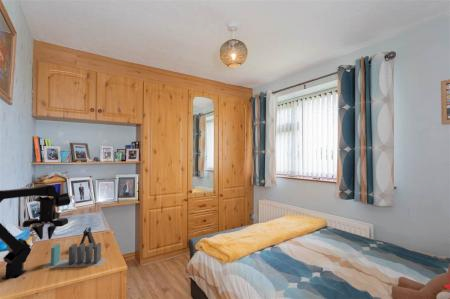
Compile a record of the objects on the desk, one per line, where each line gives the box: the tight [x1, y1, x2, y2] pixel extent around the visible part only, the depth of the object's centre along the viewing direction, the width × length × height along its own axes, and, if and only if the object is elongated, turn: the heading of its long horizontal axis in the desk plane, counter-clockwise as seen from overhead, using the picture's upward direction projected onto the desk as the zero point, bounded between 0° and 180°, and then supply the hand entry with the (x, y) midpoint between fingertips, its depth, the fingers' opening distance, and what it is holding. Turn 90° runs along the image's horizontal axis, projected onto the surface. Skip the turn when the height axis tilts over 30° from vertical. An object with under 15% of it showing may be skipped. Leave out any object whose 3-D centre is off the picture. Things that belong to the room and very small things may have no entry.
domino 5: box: [93, 242, 102, 264], centre depth 122 cm, size 5×2×9 cm, turn 7°
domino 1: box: [50, 243, 61, 266], centre depth 119 cm, size 5×2×9 cm, turn 8°
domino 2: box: [68, 243, 78, 265], centre depth 120 cm, size 5×2×9 cm, turn 7°
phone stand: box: [79, 226, 97, 250], centre depth 139 cm, size 9×6×12 cm, turn 110°
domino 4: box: [85, 243, 94, 264], centre depth 121 cm, size 5×2×9 cm, turn 7°
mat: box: [41, 257, 108, 269], centre depth 120 cm, size 8×28×1 cm, turn 97°
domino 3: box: [77, 242, 86, 265], centre depth 121 cm, size 5×2×9 cm, turn 7°
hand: (45, 239), depth 119 cm, fingers open, 4 cm apart
